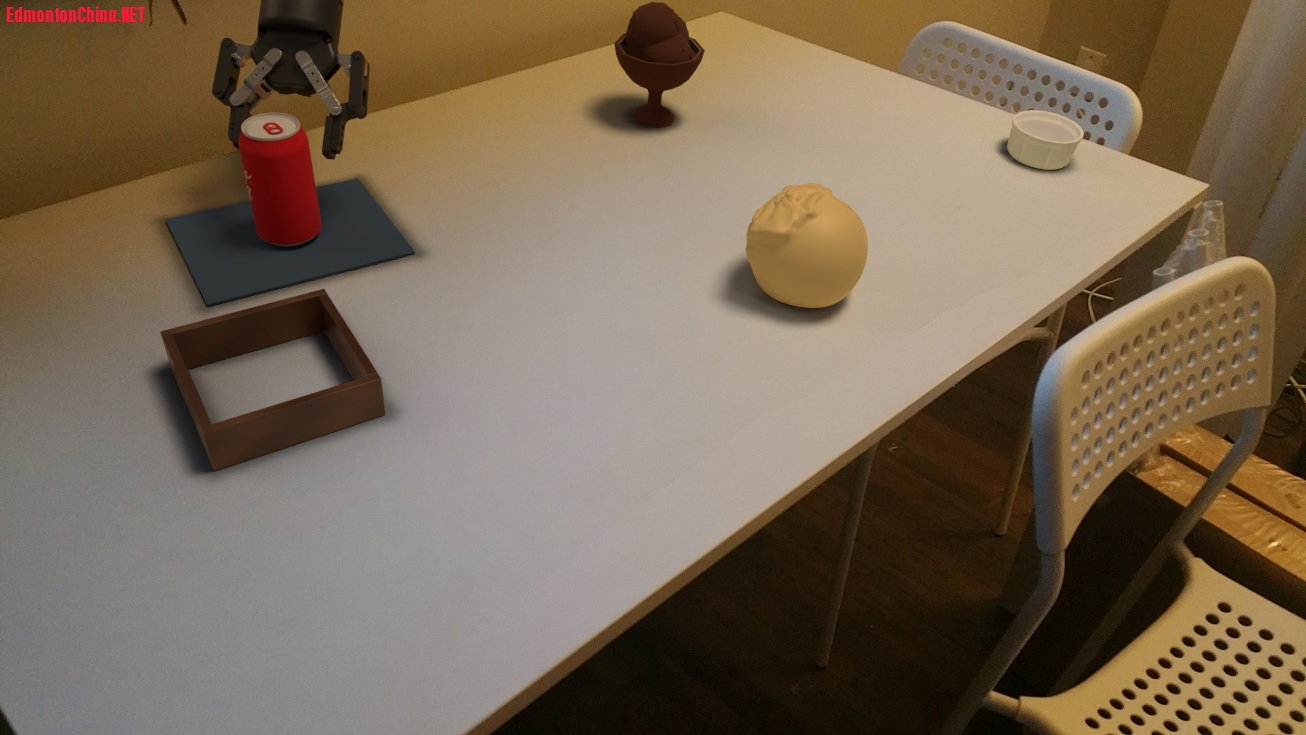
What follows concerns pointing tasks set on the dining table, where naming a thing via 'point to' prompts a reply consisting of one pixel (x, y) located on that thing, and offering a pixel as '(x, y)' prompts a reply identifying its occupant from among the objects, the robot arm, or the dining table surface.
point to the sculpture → (807, 246)
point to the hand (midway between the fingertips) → (284, 152)
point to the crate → (287, 418)
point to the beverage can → (280, 179)
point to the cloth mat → (248, 265)
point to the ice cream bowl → (657, 58)
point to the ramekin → (1043, 139)
